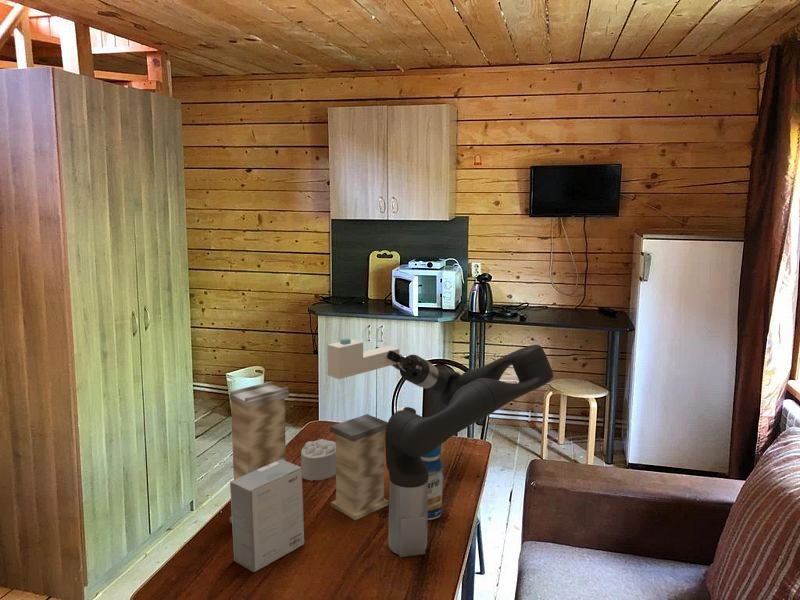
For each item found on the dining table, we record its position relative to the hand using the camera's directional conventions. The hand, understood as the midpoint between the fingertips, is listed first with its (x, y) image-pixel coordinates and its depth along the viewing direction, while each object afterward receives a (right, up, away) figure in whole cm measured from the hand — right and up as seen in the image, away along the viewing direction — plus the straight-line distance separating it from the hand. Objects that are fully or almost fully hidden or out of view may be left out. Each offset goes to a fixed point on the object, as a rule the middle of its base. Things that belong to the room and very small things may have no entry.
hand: (382, 352), depth 175 cm
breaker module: (-4, -4, -4) cm, 7 cm away
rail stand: (-31, -43, -5) cm, 53 cm away
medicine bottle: (+7, -34, +44) cm, 56 cm away
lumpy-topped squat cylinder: (-19, -38, +22) cm, 48 cm away
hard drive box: (-26, -46, -21) cm, 56 cm away
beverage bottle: (+12, -43, -1) cm, 44 cm away
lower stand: (-6, -41, +2) cm, 42 cm away
